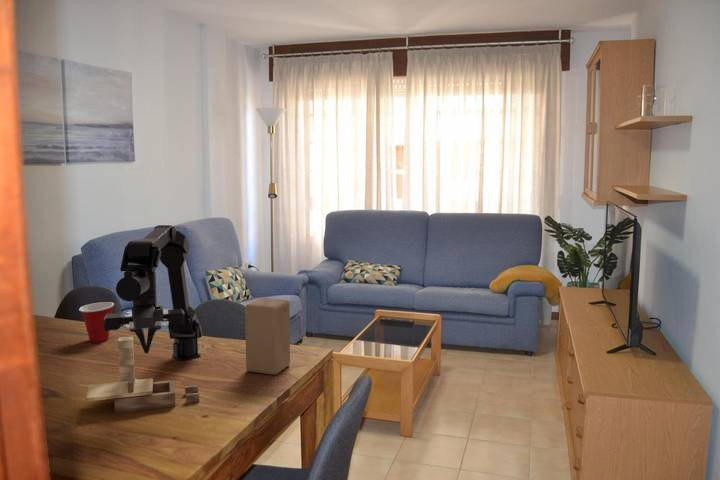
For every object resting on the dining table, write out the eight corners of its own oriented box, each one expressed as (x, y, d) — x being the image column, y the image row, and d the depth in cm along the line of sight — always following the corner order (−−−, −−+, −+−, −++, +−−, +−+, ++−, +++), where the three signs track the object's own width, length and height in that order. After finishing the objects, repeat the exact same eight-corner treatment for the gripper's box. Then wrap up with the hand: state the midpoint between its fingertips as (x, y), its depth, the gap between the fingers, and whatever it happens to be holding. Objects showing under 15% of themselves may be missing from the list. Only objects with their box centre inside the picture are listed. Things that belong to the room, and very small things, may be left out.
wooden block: (291, 365, 182) (290, 299, 179) (276, 376, 173) (275, 307, 170) (261, 361, 185) (260, 296, 182) (244, 372, 176) (243, 304, 173)
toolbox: (197, 390, 162) (197, 377, 161) (199, 403, 154) (199, 390, 153) (117, 399, 156) (116, 386, 155) (114, 413, 147) (114, 399, 147)
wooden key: (135, 382, 166) (132, 336, 164) (134, 387, 163) (132, 340, 161) (121, 384, 165) (118, 337, 163) (120, 388, 162) (118, 341, 160)
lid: (152, 381, 158) (152, 369, 158) (152, 394, 150) (152, 381, 149) (89, 387, 153) (89, 375, 153) (85, 401, 145) (85, 388, 144)
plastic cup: (84, 336, 208) (82, 302, 207) (117, 334, 211) (116, 300, 209) (77, 346, 198) (75, 310, 196) (113, 343, 200) (111, 308, 199)
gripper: (100, 301, 139) (103, 367, 142) (184, 296, 145) (187, 359, 147) (104, 291, 150) (107, 352, 152) (183, 286, 156) (185, 345, 158)
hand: (146, 352), depth 152 cm, fingers closed
